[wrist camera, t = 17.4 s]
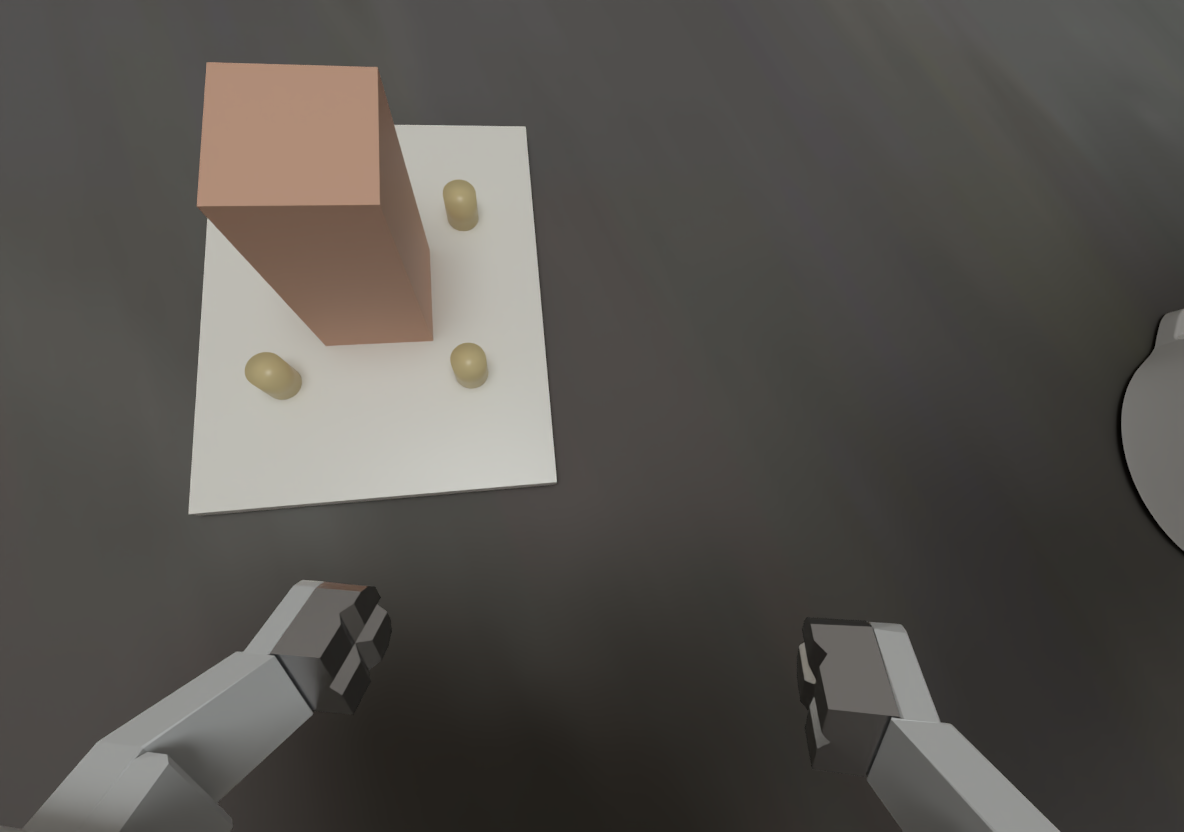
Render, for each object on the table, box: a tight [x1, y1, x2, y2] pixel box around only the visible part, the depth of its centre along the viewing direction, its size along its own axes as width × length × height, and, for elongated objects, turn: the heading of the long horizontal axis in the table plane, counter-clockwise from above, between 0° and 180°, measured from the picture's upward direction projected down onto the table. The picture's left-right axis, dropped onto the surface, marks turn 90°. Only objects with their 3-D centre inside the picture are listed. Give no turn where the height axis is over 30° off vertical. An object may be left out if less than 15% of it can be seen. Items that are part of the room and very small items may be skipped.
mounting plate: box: [189, 125, 557, 516], centre depth 27 cm, size 16×20×3 cm
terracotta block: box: [197, 62, 433, 346], centre depth 22 cm, size 5×5×11 cm
